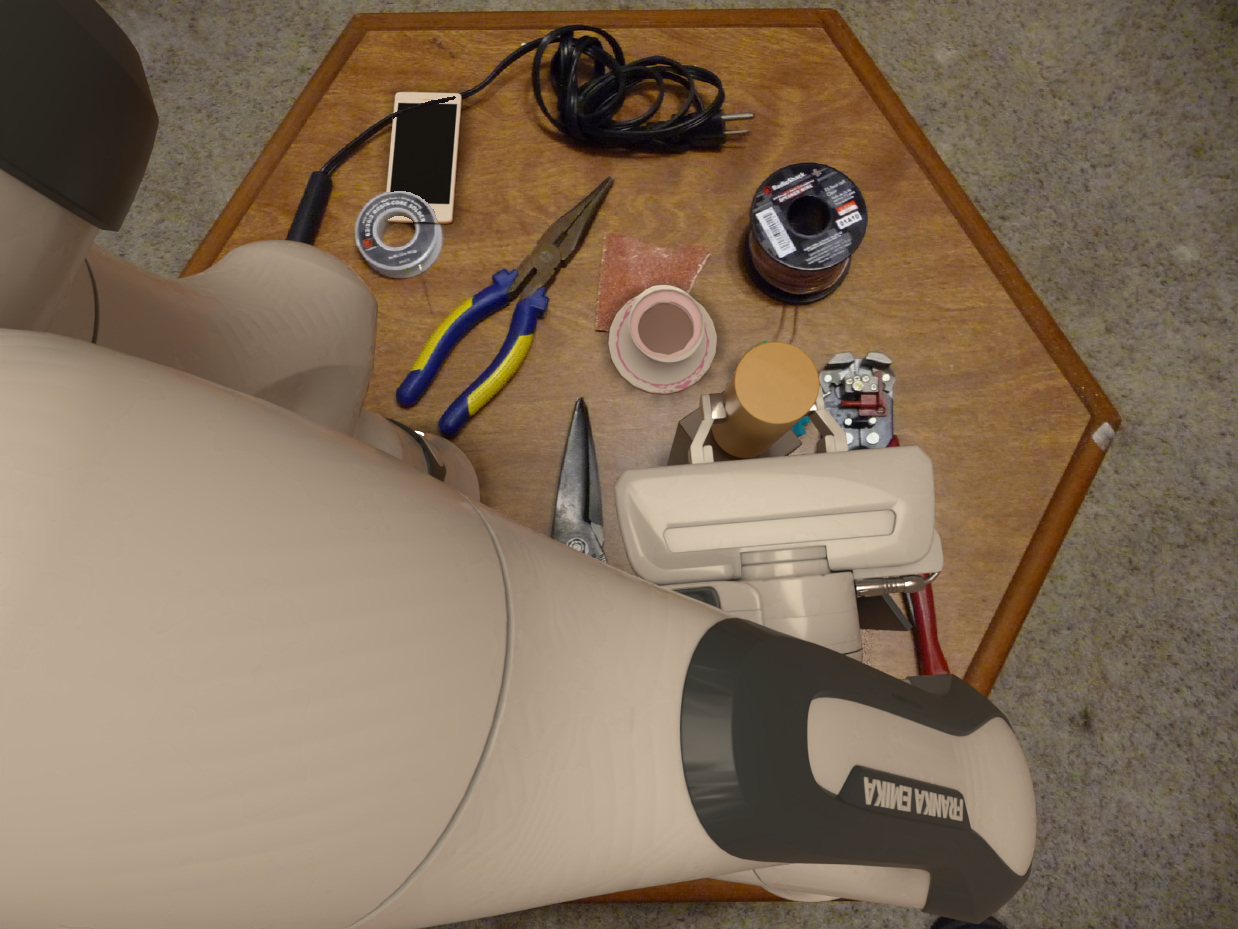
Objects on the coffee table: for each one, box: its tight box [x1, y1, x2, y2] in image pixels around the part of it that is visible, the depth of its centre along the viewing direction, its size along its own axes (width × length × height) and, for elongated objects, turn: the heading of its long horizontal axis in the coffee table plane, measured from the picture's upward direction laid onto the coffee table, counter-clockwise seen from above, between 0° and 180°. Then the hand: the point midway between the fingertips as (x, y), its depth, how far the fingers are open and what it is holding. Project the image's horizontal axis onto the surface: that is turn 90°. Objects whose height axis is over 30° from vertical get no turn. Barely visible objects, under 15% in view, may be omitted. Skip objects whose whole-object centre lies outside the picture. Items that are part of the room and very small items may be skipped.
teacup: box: [607, 282, 718, 395], centre depth 79 cm, size 12×12×6 cm
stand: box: [666, 389, 803, 466], centre depth 69 cm, size 7×7×22 cm
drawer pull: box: [833, 570, 916, 632], centre depth 65 cm, size 14×12×5 cm
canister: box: [712, 341, 820, 458], centre depth 49 cm, size 5×5×12 cm
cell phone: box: [385, 91, 463, 225], centre depth 85 cm, size 8×16×1 cm, turn 178°
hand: (758, 391), depth 49 cm, fingers closed on canister, 5 cm apart
